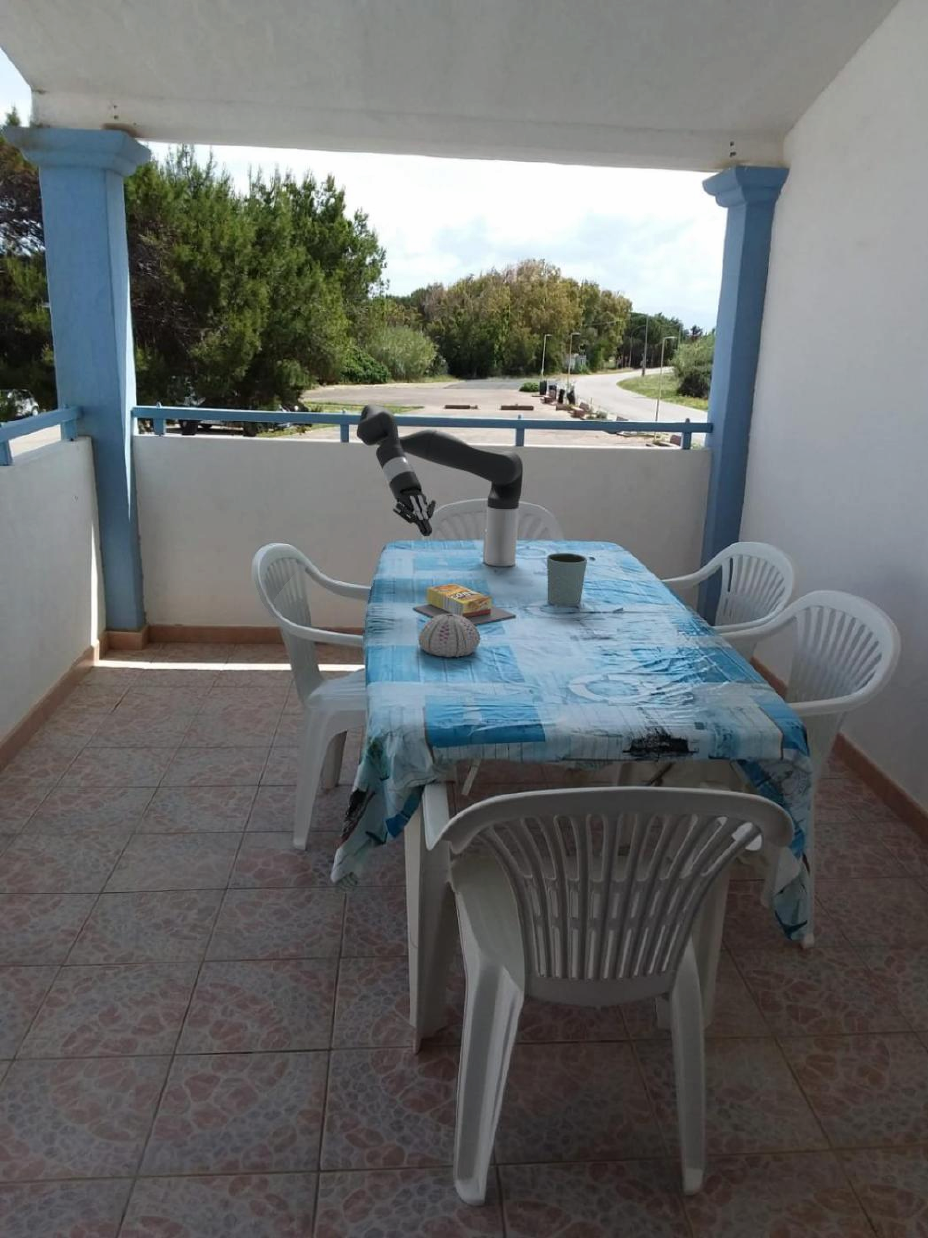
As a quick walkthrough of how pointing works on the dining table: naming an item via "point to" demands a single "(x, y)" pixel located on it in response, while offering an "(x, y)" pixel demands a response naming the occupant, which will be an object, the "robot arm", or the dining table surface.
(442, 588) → the candy box
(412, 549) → the dining table surface
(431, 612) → the mat
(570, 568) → the green cup
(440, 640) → the sea urchin shell
